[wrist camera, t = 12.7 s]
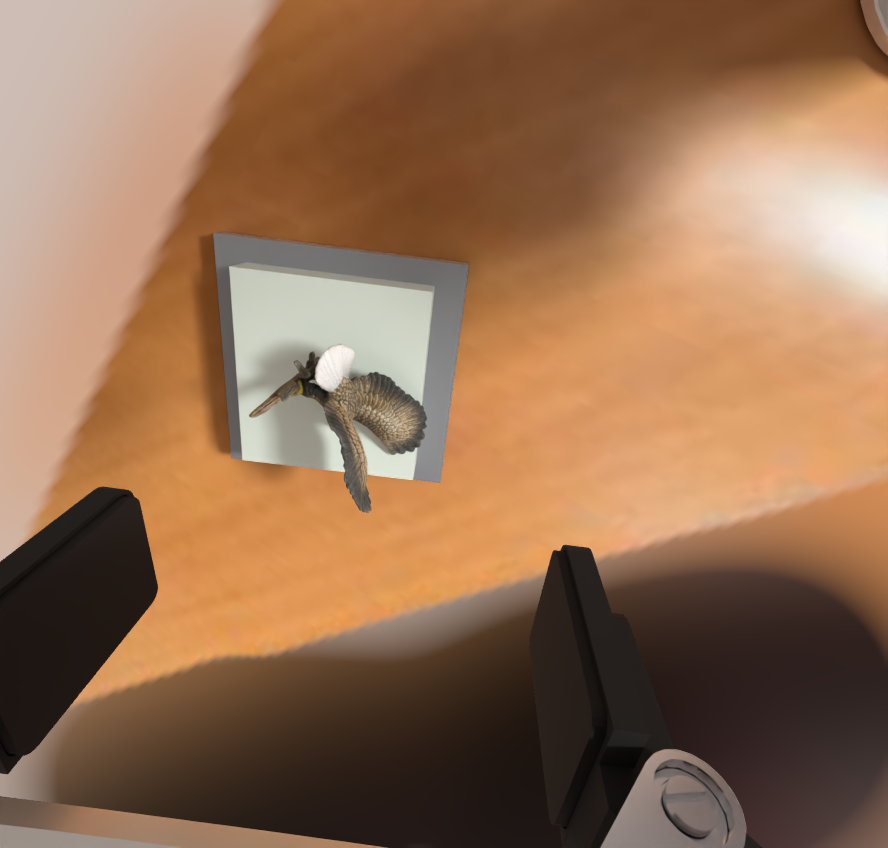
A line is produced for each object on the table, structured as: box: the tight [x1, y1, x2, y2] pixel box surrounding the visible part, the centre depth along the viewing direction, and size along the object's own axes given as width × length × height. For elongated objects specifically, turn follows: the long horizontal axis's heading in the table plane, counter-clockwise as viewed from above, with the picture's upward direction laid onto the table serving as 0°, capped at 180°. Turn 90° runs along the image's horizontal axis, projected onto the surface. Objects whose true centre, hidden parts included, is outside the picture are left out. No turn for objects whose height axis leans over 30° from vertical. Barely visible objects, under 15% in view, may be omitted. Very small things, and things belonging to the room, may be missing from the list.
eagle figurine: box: [249, 344, 427, 513], centre depth 28 cm, size 8×7×9 cm
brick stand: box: [213, 232, 469, 483], centre depth 33 cm, size 16×16×5 cm
